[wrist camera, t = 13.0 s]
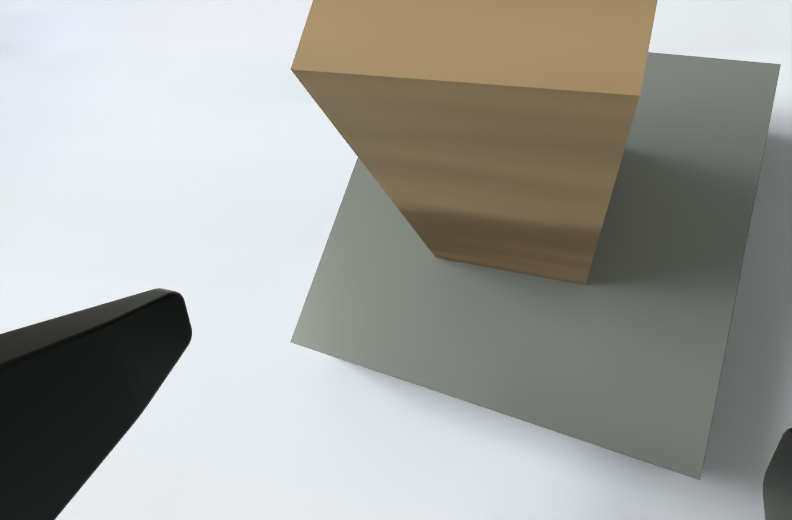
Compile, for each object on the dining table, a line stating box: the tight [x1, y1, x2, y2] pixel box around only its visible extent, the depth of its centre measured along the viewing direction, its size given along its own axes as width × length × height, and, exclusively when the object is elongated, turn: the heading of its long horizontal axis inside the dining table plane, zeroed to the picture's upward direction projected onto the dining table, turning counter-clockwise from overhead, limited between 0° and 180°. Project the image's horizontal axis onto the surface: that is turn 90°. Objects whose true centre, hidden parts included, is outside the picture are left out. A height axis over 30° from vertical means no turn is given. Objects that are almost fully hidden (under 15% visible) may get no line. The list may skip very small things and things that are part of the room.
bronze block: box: [291, 0, 657, 285], centre depth 12 cm, size 4×4×10 cm
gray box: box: [291, 52, 781, 480], centre depth 18 cm, size 12×12×4 cm
